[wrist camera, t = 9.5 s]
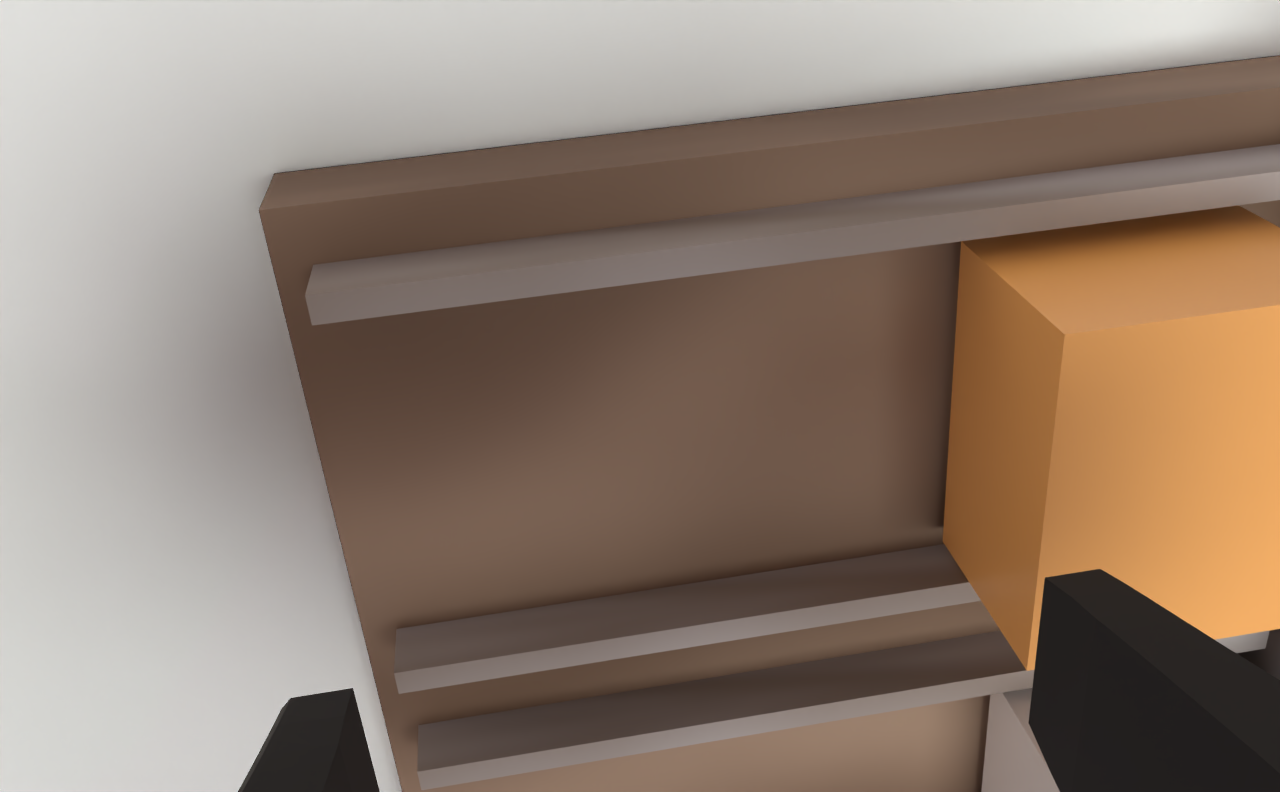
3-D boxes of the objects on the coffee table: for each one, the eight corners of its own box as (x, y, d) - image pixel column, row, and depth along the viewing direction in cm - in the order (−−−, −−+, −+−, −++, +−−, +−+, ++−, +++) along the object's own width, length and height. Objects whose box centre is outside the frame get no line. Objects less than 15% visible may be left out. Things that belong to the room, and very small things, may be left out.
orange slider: (1183, 503, 18) (1305, 623, 16) (942, 540, 18) (1027, 670, 15) (1238, 204, 16) (1393, 289, 13) (961, 241, 16) (1064, 334, 13)
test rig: (1415, 765, 25) (1616, 970, 21) (454, 938, 23) (457, 1205, 19) (1674, 9, 18) (2080, 86, 13) (274, 173, 16) (209, 327, 11)
